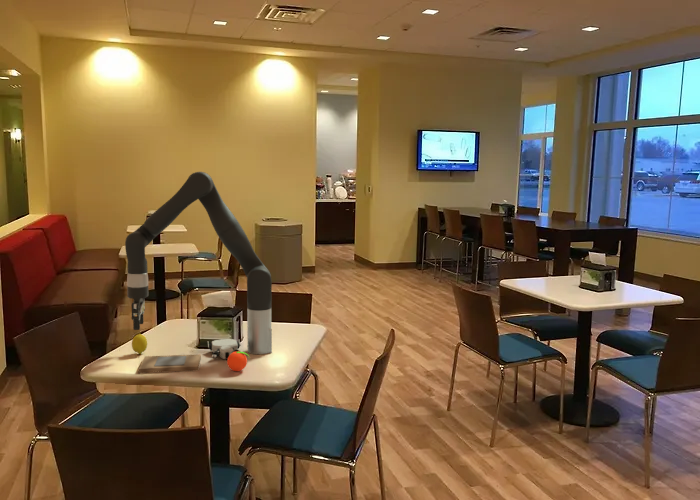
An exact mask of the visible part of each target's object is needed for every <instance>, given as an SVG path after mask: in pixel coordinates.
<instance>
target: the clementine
mask: <svg viewBox="0 0 700 500" xmlns="http://www.w3.org/2000/svg"><path fill="white" fill-rule="evenodd" d="M240 351H241V350H239V351H235V352H233V353H231V354H230V355H229V357H228V359H227V361H226V363H227V367H228V368H229V369H230V370H231V371H233V372H241V371H243V370H244V369H245V368H246V367H247V365H248V359H247V356H248V358H249V359H251V358H250V356H249V354H248V353H246V352H245V351H241V352H240ZM246 355H247V356H246Z"/></svg>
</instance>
